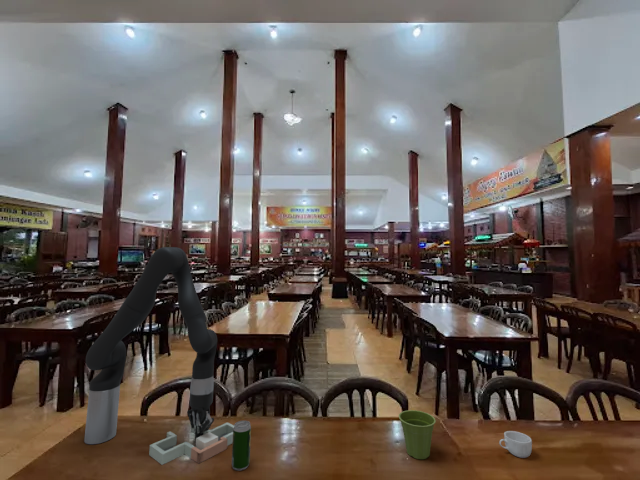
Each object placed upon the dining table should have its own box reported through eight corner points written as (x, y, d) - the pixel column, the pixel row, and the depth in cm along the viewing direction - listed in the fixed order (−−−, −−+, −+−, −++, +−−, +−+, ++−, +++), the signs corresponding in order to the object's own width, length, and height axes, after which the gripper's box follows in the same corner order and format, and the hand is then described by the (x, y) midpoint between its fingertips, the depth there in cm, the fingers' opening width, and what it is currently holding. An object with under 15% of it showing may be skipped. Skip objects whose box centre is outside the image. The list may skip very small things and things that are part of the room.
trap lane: (144, 451, 100) (145, 441, 100) (210, 422, 120) (211, 414, 120) (176, 475, 88) (176, 464, 88) (244, 439, 108) (244, 430, 108)
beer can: (234, 473, 89) (236, 430, 91) (229, 464, 94) (231, 422, 95) (252, 467, 92) (253, 425, 94) (246, 458, 97) (247, 418, 98)
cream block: (195, 452, 99) (196, 438, 100) (208, 446, 103) (209, 431, 104) (204, 458, 96) (204, 443, 97) (217, 451, 100) (218, 436, 101)
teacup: (523, 447, 105) (522, 431, 106) (538, 461, 97) (537, 443, 98) (493, 446, 105) (492, 430, 106) (506, 460, 97) (506, 442, 98)
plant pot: (421, 441, 108) (420, 407, 109) (444, 460, 97) (443, 423, 98) (392, 446, 104) (391, 412, 106) (413, 467, 93) (412, 428, 94)
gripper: (181, 388, 106) (177, 441, 104) (203, 398, 98) (199, 455, 96) (200, 382, 112) (197, 432, 110) (222, 391, 104) (220, 445, 102)
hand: (198, 443), depth 103 cm, fingers closed
